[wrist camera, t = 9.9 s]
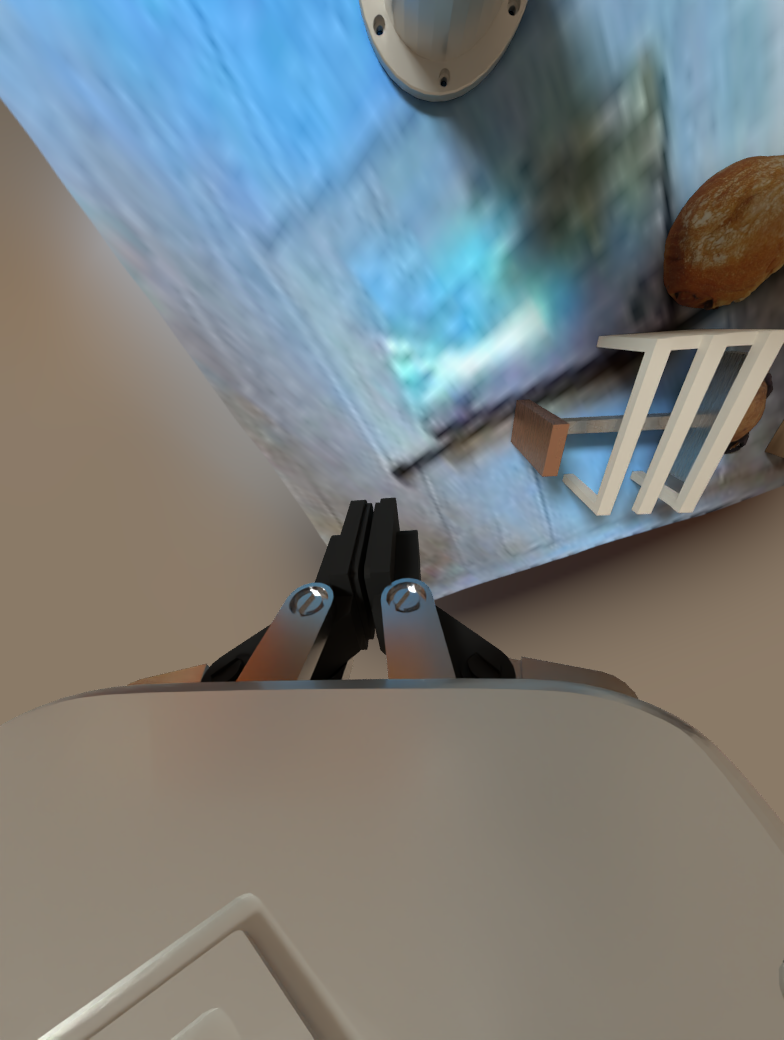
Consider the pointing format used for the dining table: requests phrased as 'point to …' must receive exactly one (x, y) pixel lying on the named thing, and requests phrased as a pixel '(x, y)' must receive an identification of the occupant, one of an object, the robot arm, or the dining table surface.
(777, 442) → the bar
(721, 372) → the rod with wooden block
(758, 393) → the bread roll
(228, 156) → the dining table surface
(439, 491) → the dining table surface
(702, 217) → the bread roll
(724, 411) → the white slatted rack
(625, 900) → the robot arm
